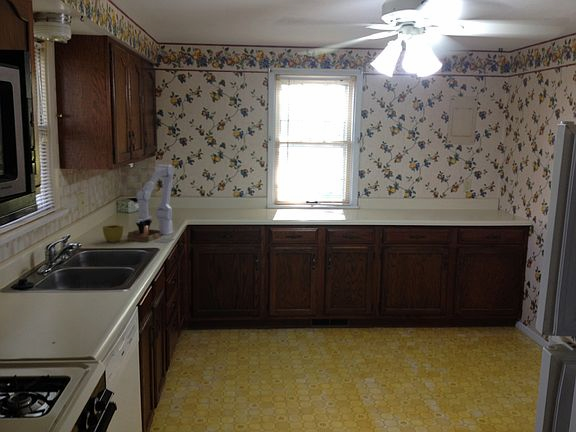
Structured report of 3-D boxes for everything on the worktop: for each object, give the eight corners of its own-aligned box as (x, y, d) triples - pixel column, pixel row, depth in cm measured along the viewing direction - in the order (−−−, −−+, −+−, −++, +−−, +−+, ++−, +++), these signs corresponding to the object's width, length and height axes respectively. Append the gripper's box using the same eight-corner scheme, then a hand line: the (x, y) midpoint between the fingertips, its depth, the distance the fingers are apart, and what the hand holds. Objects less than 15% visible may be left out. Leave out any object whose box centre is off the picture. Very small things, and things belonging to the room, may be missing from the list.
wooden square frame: (140, 235, 355) (140, 228, 354) (160, 237, 351) (160, 230, 350) (127, 240, 341) (127, 232, 341) (148, 241, 337) (148, 234, 336)
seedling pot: (142, 234, 349) (142, 224, 348) (150, 234, 347) (149, 225, 346) (138, 235, 344) (138, 226, 343) (145, 236, 343) (145, 226, 342)
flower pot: (115, 239, 344) (115, 224, 342) (124, 241, 338) (123, 226, 337) (102, 241, 337) (102, 226, 335) (111, 243, 331) (110, 228, 330)
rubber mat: (163, 238, 349) (163, 238, 349) (175, 239, 346) (175, 239, 346) (153, 241, 337) (153, 241, 337) (165, 243, 335) (165, 242, 335)
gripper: (144, 208, 351) (144, 230, 353) (131, 212, 337) (131, 234, 340) (154, 209, 349) (154, 230, 351) (141, 212, 335) (142, 235, 338)
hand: (144, 232), depth 345 cm, fingers closed on seedling pot, 5 cm apart
